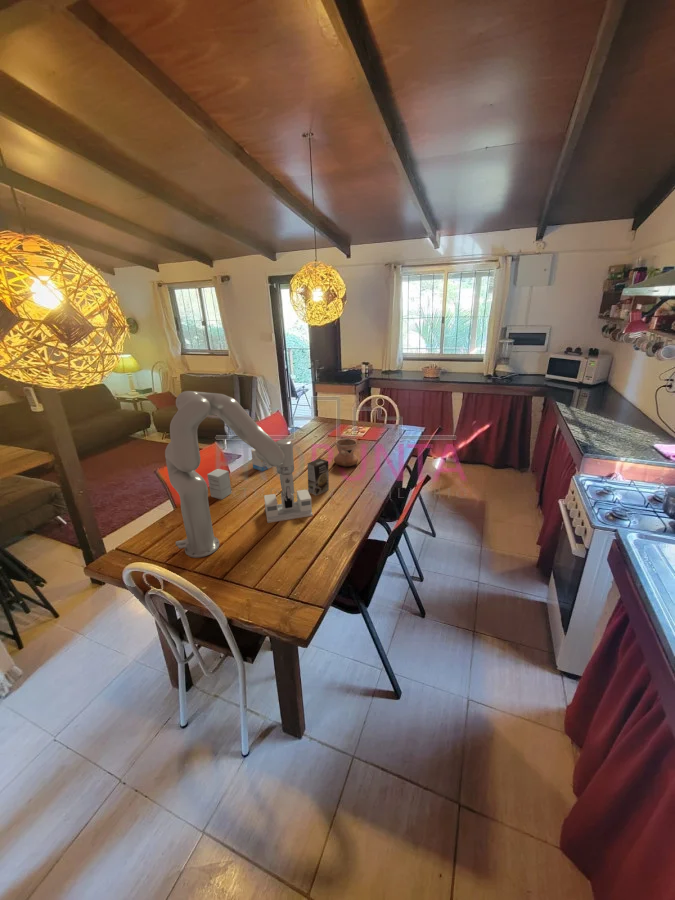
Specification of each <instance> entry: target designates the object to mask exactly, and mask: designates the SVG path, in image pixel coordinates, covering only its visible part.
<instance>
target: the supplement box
mask: <svg viewBox="0 0 675 900" xmlns="http://www.w3.org/2000/svg"><path fill="white" fill-rule="evenodd" d="M206 474H207V481H208V486H209V487H208V488H209V492H210V497H212V498H215V499H218V500H224V499H225V498H227V497H228V496H230V495H231V494H232V486H231V479H230V472H229V470H226V469H221V468H217V469H214V470H213V471H210V472H209V473H206Z"/></svg>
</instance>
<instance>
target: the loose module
mask: <svg viewBox="0 0 675 900" xmlns="http://www.w3.org/2000/svg"><path fill="white" fill-rule="evenodd" d="M286 493H287V492H286ZM280 497H281V498H280V500H281V504H282V508H283V510H290V509H294V502H295V497H294V494H292V493H291V498H292V507H291V508H285V495H284V494H283V491H282V490H281V491H280ZM286 497H287V495H286Z"/></svg>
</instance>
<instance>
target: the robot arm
mask: <svg viewBox="0 0 675 900" xmlns="http://www.w3.org/2000/svg"><path fill="white" fill-rule="evenodd" d="M175 406H176V409H177V412H176V413H175V414H174V415H173V417H172V419H171V421H170V424H169V435H170V436H169V437H170V442H168V444H167V445H166V447H165V450H164V457H165V464H166V468H167V469H166V470H167V474H168V480H169V483H170V484H171V486H172V488H174V490H175V492H177V494H178V495H179V500H180V509H181V510H180V512H181V515H182V521H183V525H184V530H185V535H186V538H185V539H182V540H176V541H175V546H176V547H178V549H179V550H181V549H184V553H185V555H187V557H190V558H194V559H195V558H196V559H197V558H204V557H207V556H209V555H213V554H214V553H215V552H216V551H217V550H218V549H219V548H220V540H219V538H218V537H217V536H215V535H214V528H213V522H212V516H211V509H210V504H209V487H208V483H207V482H206V480H205V479H204V477H203V476H202V475H200V474H199V473H198V472H197V471H196V470H197V469H199V467H200V464H201V452H200V446H199V438H198V429H199V426H200V424H201V423H202V422H203V421H204V420H206V418H208V416H211V415H212V416H217V417H218V418H220V419H221V420H222V421H223V422H224V424H226V425H227V426H228V428H229V429H230V430H231V431H233V433H234V434H235V435H236V436H237V437H238V438H239V439H240V440H241V441H242V442H243V443H245V444H247V446H250V447H251V448H253V449H255V454H256V456H257V457H258V458H259V459H260V460H262V461H264V462H266V463H267V464H269V465H270V466H273V467H275V468H276V473H277V474H278V475H279V481H280V486H281V491H283V494H284V495H285V508H291V507H292V498H291V493H292V494H293V495H294V494H295V486H294V485H295V484H294V475H293V473H294V472H295V465H294V463H295V462H294V444H293V441H291V440H290V439H284V438H283V439H279V440H277V441H274V439H273V438H272V437H271V436H270V435H269V434H267V432H266V431H265V430H264V429H263V428H262V427H260V425H258V423H256V421H255V420H254V419H253V418H252V417H251V416H250V415H249V414H248V413H247V411H246V410H245V408H244V407H242V405H241V404H240V403H239V402H238V400H236V399H235V398H233V397H232V396H228V395H226V394H224V393H217V392H205V391H194V390H184V391H182V392H180V393H179V394H178V395H177V397H176V399H175ZM273 467H272V468H273ZM286 492H287V493H286ZM286 495H287V497H286Z"/></svg>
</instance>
